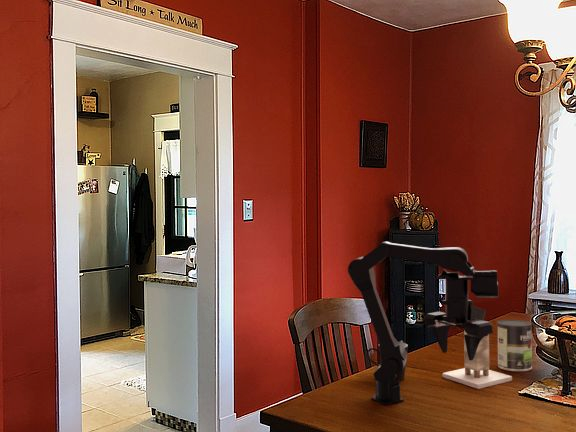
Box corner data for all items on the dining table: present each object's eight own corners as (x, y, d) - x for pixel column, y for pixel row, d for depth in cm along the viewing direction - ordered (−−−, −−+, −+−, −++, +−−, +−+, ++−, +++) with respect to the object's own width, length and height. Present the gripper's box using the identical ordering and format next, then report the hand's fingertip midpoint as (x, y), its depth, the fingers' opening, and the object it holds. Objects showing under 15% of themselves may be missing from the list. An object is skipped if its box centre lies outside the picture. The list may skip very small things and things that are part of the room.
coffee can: (538, 367, 199) (538, 322, 199) (521, 373, 192) (521, 327, 192) (508, 361, 207) (507, 318, 206) (491, 367, 200) (490, 322, 200)
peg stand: (442, 377, 191) (442, 366, 191) (475, 369, 198) (475, 359, 198) (478, 388, 179) (478, 377, 179) (512, 380, 186) (512, 369, 186)
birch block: (477, 371, 185) (476, 333, 184) (464, 367, 189) (464, 330, 189) (489, 368, 187) (489, 331, 187) (476, 364, 192) (475, 328, 191)
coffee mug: (413, 377, 191) (413, 344, 191) (397, 384, 185) (397, 350, 184) (381, 370, 199) (381, 339, 199) (365, 376, 193) (364, 344, 192)
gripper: (507, 297, 160) (508, 359, 161) (452, 289, 176) (453, 344, 177) (476, 302, 154) (477, 366, 155) (422, 293, 170) (423, 350, 171)
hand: (457, 356), depth 165 cm, fingers open, 9 cm apart
